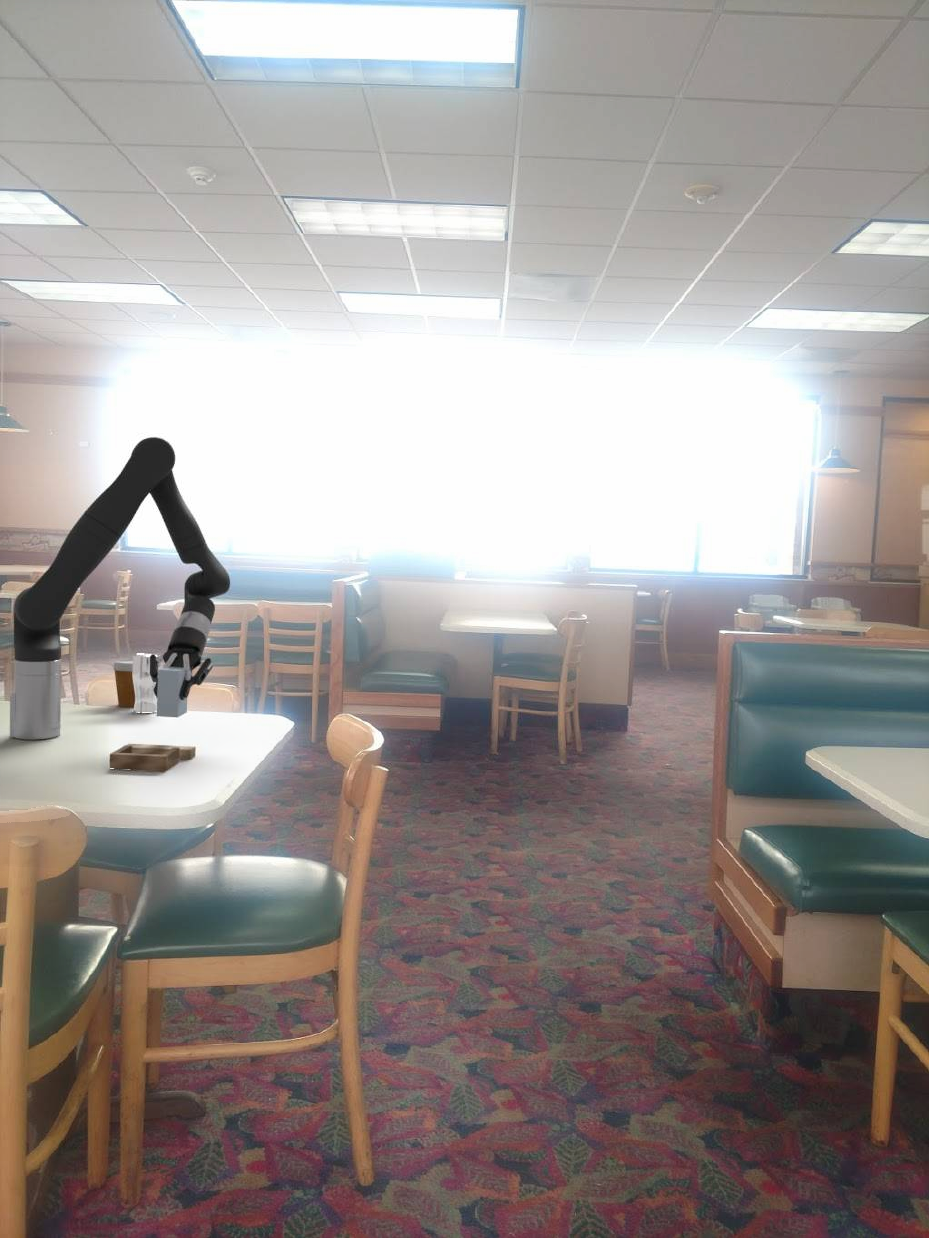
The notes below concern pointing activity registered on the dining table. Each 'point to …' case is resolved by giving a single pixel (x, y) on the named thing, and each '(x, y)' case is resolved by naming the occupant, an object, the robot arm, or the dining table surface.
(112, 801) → the dining table surface
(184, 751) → the dock step
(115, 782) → the dining table surface
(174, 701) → the pale grey upright block
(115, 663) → the disposable coffee cup
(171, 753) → the tray
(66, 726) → the dining table surface
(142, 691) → the beer glass
